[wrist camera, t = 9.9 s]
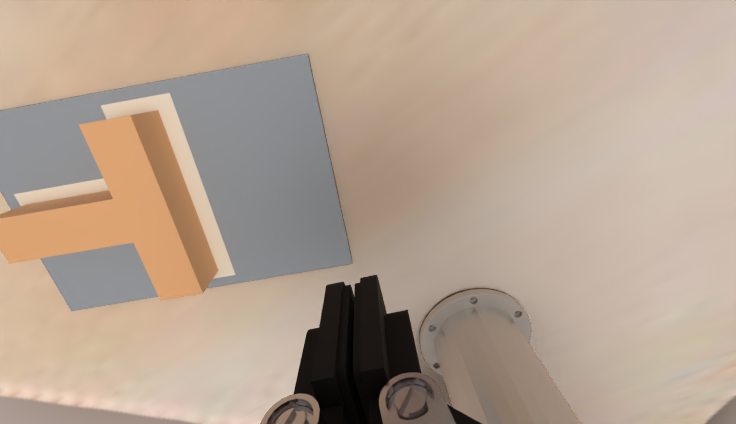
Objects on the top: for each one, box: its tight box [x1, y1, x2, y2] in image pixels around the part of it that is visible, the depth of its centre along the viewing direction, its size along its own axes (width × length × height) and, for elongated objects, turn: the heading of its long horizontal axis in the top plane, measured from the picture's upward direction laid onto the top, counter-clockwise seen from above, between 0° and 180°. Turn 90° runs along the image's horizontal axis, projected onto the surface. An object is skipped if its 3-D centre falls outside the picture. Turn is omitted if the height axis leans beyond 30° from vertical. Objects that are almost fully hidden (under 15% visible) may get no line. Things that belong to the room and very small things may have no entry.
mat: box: [0, 54, 352, 311], centre depth 33 cm, size 20×30×1 cm, turn 100°
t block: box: [0, 110, 218, 300], centre depth 31 cm, size 16×15×4 cm
